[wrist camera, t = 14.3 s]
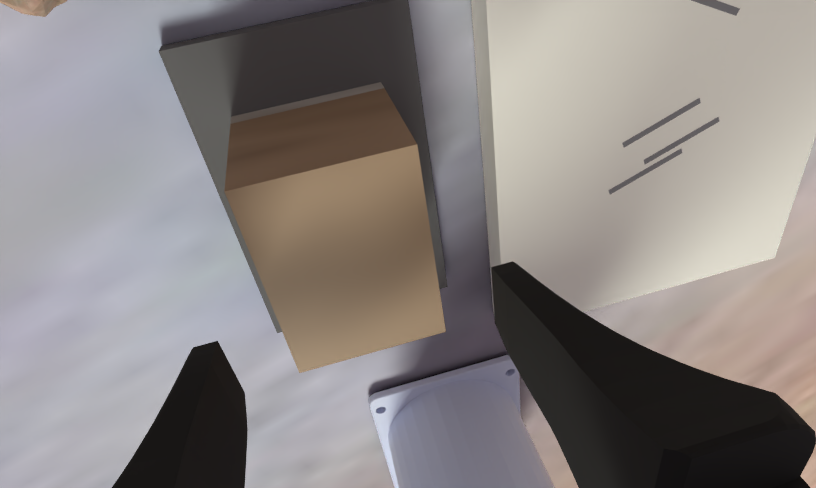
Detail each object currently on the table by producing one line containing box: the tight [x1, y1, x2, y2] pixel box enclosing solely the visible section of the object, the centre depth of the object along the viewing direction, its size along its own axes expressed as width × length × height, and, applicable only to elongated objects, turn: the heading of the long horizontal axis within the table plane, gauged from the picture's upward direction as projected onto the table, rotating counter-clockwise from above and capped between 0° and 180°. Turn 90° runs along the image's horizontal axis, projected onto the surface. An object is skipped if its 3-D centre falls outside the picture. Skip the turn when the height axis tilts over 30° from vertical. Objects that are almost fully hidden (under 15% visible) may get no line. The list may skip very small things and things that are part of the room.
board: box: [471, 0, 816, 313], centre depth 21 cm, size 18×14×2 cm
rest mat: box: [159, 0, 447, 333], centre depth 20 cm, size 12×8×1 cm, turn 9°
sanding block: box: [224, 82, 446, 373], centre depth 18 cm, size 7×5×5 cm
